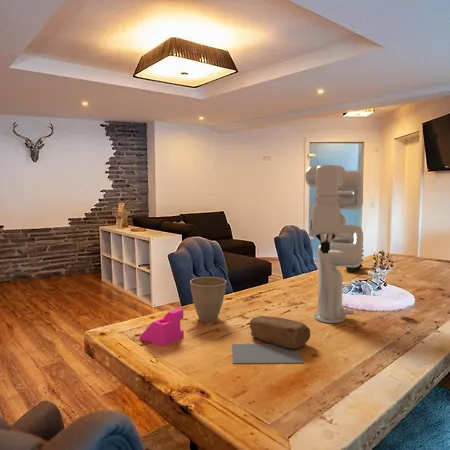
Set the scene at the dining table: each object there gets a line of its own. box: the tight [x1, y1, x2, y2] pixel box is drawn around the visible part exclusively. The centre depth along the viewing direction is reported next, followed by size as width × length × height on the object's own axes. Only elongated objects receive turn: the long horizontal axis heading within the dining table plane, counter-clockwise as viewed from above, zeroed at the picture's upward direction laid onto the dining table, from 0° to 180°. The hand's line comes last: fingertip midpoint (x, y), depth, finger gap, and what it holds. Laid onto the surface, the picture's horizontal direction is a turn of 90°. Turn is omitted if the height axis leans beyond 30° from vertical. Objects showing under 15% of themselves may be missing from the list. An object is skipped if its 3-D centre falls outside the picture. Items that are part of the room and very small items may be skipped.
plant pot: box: [189, 276, 227, 323], centre depth 159 cm, size 15×15×16 cm
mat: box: [231, 343, 305, 365], centre depth 127 cm, size 22×14×1 cm, turn 91°
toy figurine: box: [345, 254, 365, 274], centre depth 246 cm, size 9×19×25 cm
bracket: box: [139, 308, 185, 347], centre depth 140 cm, size 12×10×10 cm
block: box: [249, 315, 311, 349], centre depth 137 cm, size 11×8×20 cm
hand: (324, 252), depth 137 cm, fingers closed
